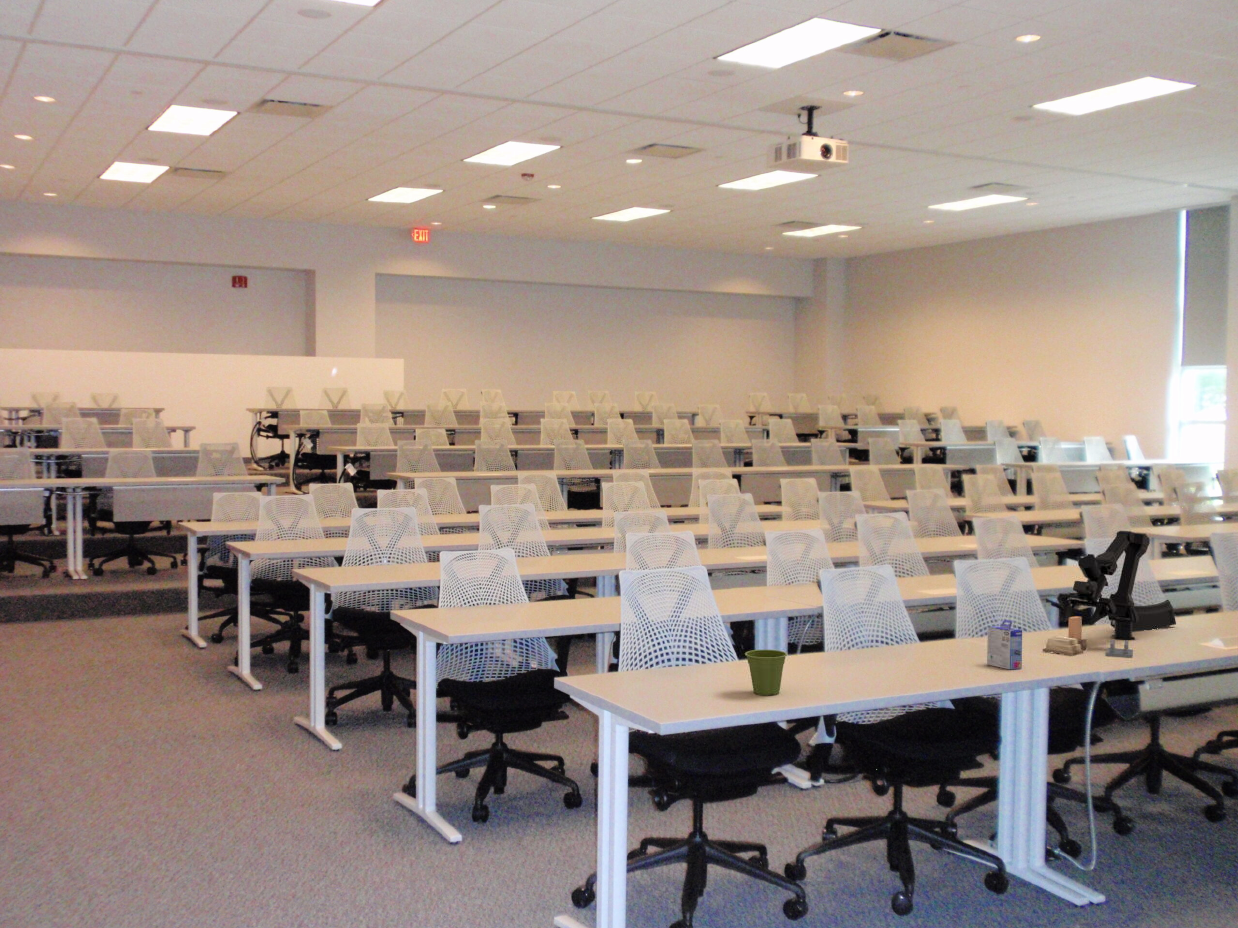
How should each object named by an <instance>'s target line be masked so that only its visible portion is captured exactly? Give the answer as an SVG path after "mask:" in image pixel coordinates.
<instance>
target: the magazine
mask: <svg viewBox="0 0 1238 928" xmlns="http://www.w3.org/2000/svg"><path fill="white" fill-rule="evenodd" d="M1134 608H1135V610H1136V612H1137V614H1138V616H1139V617H1138V622H1133V623H1132V632H1145V631H1144V630H1147V631H1153V630H1152V629H1156V630H1158V629H1157V628H1161V629H1164V628H1167V627H1170V626H1175V625H1177V621H1176V617H1175V616H1176V615H1175V611H1174V607H1173V605H1172V604H1171V601H1170V600H1169V599H1166V600H1165V601H1162V602H1159V603H1154V604H1149V605H1148V604H1146V605H1134ZM1120 618H1122V617H1120ZM1129 619H1130V618H1129ZM1110 626H1111V627H1112V628H1113V629H1115V620H1110Z"/></svg>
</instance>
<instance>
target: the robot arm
mask: <svg viewBox="0 0 1238 928" xmlns="http://www.w3.org/2000/svg"><path fill="white" fill-rule="evenodd" d="M1150 543H1151V539H1150V537H1149V536H1148V535H1147V533H1143V532H1142V533H1141V532H1134V531H1131V530H1118V531H1117V532H1116V535H1115V537H1114V539H1113V540H1112V541H1111V543H1110V544H1109V545H1108V546H1107V548H1106V550H1105V551H1104V552H1103V553H1101V554H1100V553H1099V554H1098V555H1097V556H1096V557H1095V554H1092V553H1088V554H1087V556H1083V557H1082V558H1081V559H1079V560H1078V562H1077V564H1078V567H1079V569H1080V572H1082V575H1083V577H1084V578H1085V579H1087V581H1082V580H1075V581H1074V583H1073V588H1072V590H1073V591H1075V592H1076V593H1075V595H1076V598H1074V597H1073V596H1072V594H1071V593H1064V592H1063V593H1062V592H1061V593H1059V594H1058V595H1057V597H1056V599H1057V601H1058V602H1059V605H1060V606H1061V608H1062V609H1063V622H1064V623H1066V622H1067V621H1069V618H1070V617H1071V615H1072V614H1073V612H1074V609H1075V607H1076V606H1084V607H1087V608H1095V610H1094V611H1093V614H1092V616H1091V618H1090V621H1089V625H1090V626H1092V625H1094V624H1096V623H1097V622H1099V621H1100V620H1102V619H1104V618H1106V617H1108V620H1109V621H1111V620H1115V628H1114V634H1111V637H1113V638H1114V640H1135V639H1136V638H1135V637H1134V636H1133V631H1132V623H1133V622H1138V617H1139V616H1138V614H1137V612H1136V610H1135V608H1134V606H1136V605H1135V601H1134V598H1133V595H1132V594H1133V590H1134V585H1135V583H1136V582H1135V581H1136V578H1137V572H1138V567H1139V562H1140V560H1141V558H1142V557H1143V556H1144V555H1145V554H1146V553H1147V550H1148V548H1149V546H1150V545H1151V544H1150ZM1123 553H1125V554H1124V560H1123V563H1122V568H1121V572H1120V573H1121V574H1120V576H1119V582H1118V585H1117V590H1116V592H1115V593H1111V594H1110V595H1109V598H1108V597H1103V594H1102V592H1103V590H1104V588H1105V587H1109V582H1108V579H1107V576H1113V575H1115V573H1116V572H1117V569H1118V566H1119V565H1118V563H1117V562H1118V561H1119V559H1120V558H1121V557H1122V555H1123ZM1077 597H1078V598H1077ZM1120 617H1122V618H1120ZM1129 618H1130V619H1129Z"/></svg>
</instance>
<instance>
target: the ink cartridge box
mask: <svg viewBox="0 0 1238 928" xmlns="http://www.w3.org/2000/svg"><path fill="white" fill-rule="evenodd" d="M1005 623H1008V624H1005ZM1012 624H1013V620H1009V619H1003V621H1002V622H1001V625H995V626H994V625H992V626H987V646H986V648H987V649H986V650H987V651H986V665H987V664H988V665H987V666H992V667H996V668H997V667H998V668H1001V669H1006V670H1021V668H1022V667H1023V665H1022V664H1023V663H1022V661H1023V659H1022V658H1023V630H1022V629H1021V628H1020V629H1019V628H1013V627H1011V626H1012Z"/></svg>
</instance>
